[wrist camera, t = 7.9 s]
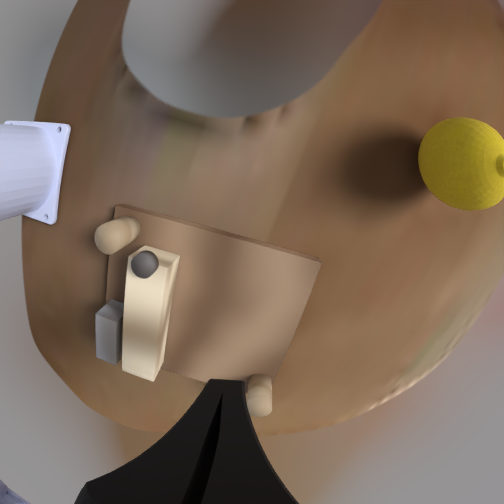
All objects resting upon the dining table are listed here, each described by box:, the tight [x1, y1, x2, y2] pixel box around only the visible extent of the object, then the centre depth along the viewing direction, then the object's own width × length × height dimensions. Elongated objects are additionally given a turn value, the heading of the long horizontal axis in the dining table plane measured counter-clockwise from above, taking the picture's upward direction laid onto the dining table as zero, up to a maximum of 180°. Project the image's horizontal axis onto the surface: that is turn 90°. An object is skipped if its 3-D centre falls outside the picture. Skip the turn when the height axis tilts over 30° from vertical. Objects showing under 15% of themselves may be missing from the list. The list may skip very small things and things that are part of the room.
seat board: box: [95, 204, 321, 417], centre depth 18 cm, size 14×12×4 cm
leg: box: [122, 245, 180, 382], centre depth 17 cm, size 10×2×3 cm, turn 165°
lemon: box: [418, 117, 504, 211], centre depth 13 cm, size 6×6×8 cm
